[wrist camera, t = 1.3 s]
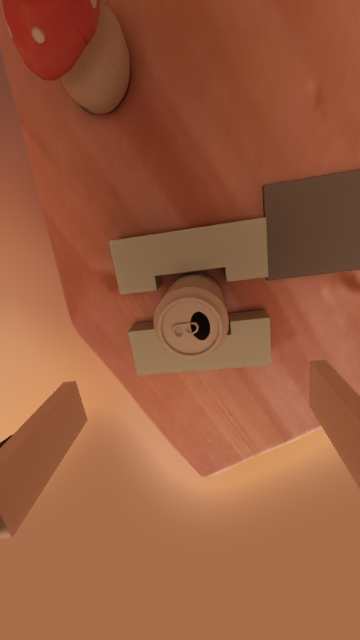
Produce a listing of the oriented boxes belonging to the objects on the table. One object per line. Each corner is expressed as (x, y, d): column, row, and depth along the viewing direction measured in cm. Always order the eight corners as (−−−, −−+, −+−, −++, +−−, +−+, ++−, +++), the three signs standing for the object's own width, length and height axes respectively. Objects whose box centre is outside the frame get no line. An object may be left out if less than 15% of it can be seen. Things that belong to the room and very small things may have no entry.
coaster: (262, 186, 30) (263, 185, 30) (364, 169, 29) (367, 168, 28) (266, 279, 34) (267, 280, 33) (358, 268, 32) (360, 269, 32)
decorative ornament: (102, 8, 27) (-15, -244, 13) (153, 56, 28) (96, -130, 13) (59, 98, 30) (-77, -26, 15) (106, 138, 30) (18, 56, 16)
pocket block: (117, 240, 34) (108, 241, 31) (259, 218, 31) (265, 217, 28) (143, 363, 39) (137, 375, 36) (265, 353, 37) (271, 365, 34)
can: (226, 320, 36) (235, 360, 25) (173, 328, 37) (159, 370, 26) (218, 266, 34) (224, 283, 22) (162, 277, 35) (141, 298, 24)
